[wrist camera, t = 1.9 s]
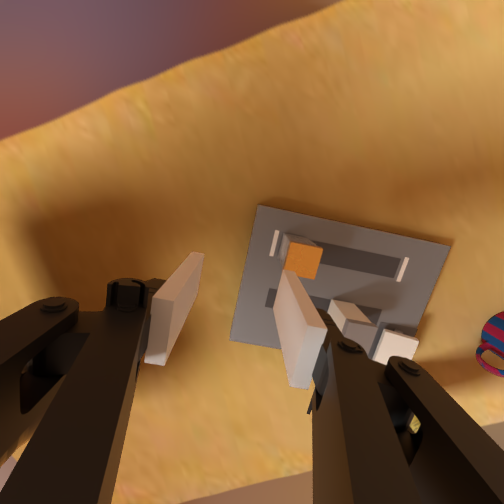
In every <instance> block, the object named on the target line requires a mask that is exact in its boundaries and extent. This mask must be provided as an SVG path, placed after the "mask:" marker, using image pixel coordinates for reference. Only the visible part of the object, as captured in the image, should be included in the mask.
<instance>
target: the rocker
mask: <svg viewBox="0 0 504 504" xmlns="http://www.w3.org/2000/svg"><path fill="white" fill-rule="evenodd" d="M418 344H419V340H418V339H417V338H414V337H411V336H408V335H404V334H403V332H402V331H400V330H398V329H395V330H394V331H391V330H387V329H384V330H383V332H382V335H381V337H380V340H379V343H378V345H377V348H376V351H375V353H374V356H373V358H372V360H374V361H377V362H379V363H382V364H385V365H387V362H388V360H389V357H391V356H400V357H405V358H408V359H409V360H412V358H413V355H414V353H415V351H416V348H417V346H418Z"/></svg>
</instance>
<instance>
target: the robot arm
mask: <svg viewBox="0 0 504 504" xmlns="http://www.w3.org/2000/svg"><path fill="white" fill-rule="evenodd" d="M203 259H204V253H198V252H193V251H192V252H191V253H190V254H189V255H188V256H187V258H186V259H185V260H184V261H183V262H182V263H181V265H180V266H179V267H178V268H177V269H176V270H175V272H174V273H173V274H172V275H171V276H170V277H169V278H168V280H161V279H156V278H154V279H151V280H148V281H146V282H145V281H142V280H139V279H133V278H122V279H116V280H113V281H111V282H109V283H108V285H107V298H106V307H105V308H104V310H103V311H98V312H79V303H78V302H77V301H76V300H74V299H70V298H63V297H50V298H47V299H42V300H39V301H36V302H34V303H32V304H30V305H28V306H26V307H24V308H23V309H21V310H19V311H17V312H15V313H13V314H12V315H10V316H8V317H6V318H4V319H2V320H1V321H0V467H1V466H2V465H3V464H4V463H5V462H6V461H7V459H8V458H9V457H10V456H11V455H12V454H13V453H14V452H15V451H16V449H17V448H19V447H20V446H21V445H23V444H24V443H26V442H27V441H28V440H30V441H29V442H28V444H27V446H26V448H25V450H24V451H23V453H22V455H21V457H20V458H19V460H18V462H17V464H16V466H15V467H14V469H13V471H12V472H11V474H10V476H9V478H8V480H7V481H6V483H5V485H4V487H3V488H2V490H1V492H0V504H111V501H112V496H113V491H114V487H115V482H116V477H117V473H118V468H119V463H120V458H121V454H122V449H123V444H124V440H125V435H126V430H127V425H128V421H129V416H130V411H131V407H132V402H133V397H134V392H135V388H136V383H137V378H138V374H139V369H140V360H141V358H142V356H143V354H144V353H145V360H144V363H150V364H156V365H162V366H165V363H166V361H167V359H168V357H169V355H170V353H171V351H172V348H173V346H174V344H175V342H176V340H177V338H178V335H179V333H180V331H181V329H182V327H183V325H184V322H185V320H186V318H187V316H188V314H189V312H190V309H191V307H192V305H193V303H194V301H195V299H196V297H197V294H198V288H199V283H200V277H201V271H202V265H203ZM273 311H274V316H275V321H276V325H277V330H278V335H279V339H280V344H281V348H282V353H283V358H284V362H285V367H286V372H287V376H288V381H289V386H290V387H295V388H301V389H307V390H308V389H309V386H310V383H311V380H312V377H313V380H314V383H315V389H314V392H313V395H312V398H311V402H310V405H309V408H308V411H307V414H310V412H311V410H312V445H313V504H504V451H503V450H502V449H501V448H500V447H499V446H498V445H497V444H496V443H495V441H494V440H493V439H492V438H491V437H490V436H489V435H488V434H487V433H486V432H485V431H484V430H483V429H482V428H481V427H480V426H479V425H478V424H477V423H476V422H475V421H474V420H473V419H472V418H471V417H470V416H469V415H468V414H467V413H466V412H465V410H464V409H463V408H462V407H461V406H460V405H459V404H458V403H457V402H456V401H455V400H454V399H453V398H452V397H451V396H450V395H449V394H448V393H447V392H446V391H445V390H444V389H443V388H442V387H441V386H440V385H439V384H438V383H437V382H436V381H435V380H434V378H433V377H432V376H431V375H430V374H429V373H428V372H427V371H426V370H424V369H423V368H422V367H421V366H420V365H418V364H416V363H415V362H414V361H412V360H409V359H408V358H405V357H400V356H391V357H389V360H388V362H387V365H385V364H382V363H379V362H377V361H374V360H371V359H369V358H368V356H367V353H366V351H365V350H364V348H363V347H362V346H361V345H359V344H358V343H356V342H355V341H353V340H351V339H348V338H346V337H344V336H343V334H342V333H341V331H340V330H339V328H338V327H337V325H336V323H335V322H334V320H333V319H332V317H331V316H330V315H329V314H328V313H327V312H326V311H324V310H323V309H319V308H315V306H314V304H313V303H312V301H311V299H310V297H309V296H308V294H307V292H306V290H305V289H304V287H303V285H302V283H301V282H300V280H299V278H298V276H297V275H296V273H295V272H294V271H289V270H284V269H283V271H282V275H281V279H280V283H279V287H278V291H277V295H276V299H275V302H274V306H273ZM145 351H146V352H145ZM414 415H415V416H416V417H417V419H418V420H419V422H420V427H419V429H418V431H417V432H416V433H415V432H414V431H413V430H412V428H411V427H410V424H411V422H412V419H413V417H414Z"/></svg>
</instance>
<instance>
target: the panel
mask: <svg viewBox="0 0 504 504" xmlns="http://www.w3.org/2000/svg"><path fill="white" fill-rule="evenodd" d="M283 233H287V234H291V235H296V236H301V237H306V238H309V239H310V240H311V241H312V242H313V243H315V244H316V245H317V246H319V247H322V248H323V252H322V255H321V259H320V262H319V266H318V269H317V273H316V276H315V280H313V279H308V278H303V277H298V278H299V280H300V282H301V283H302V285H303V287H304V289H305V290H306V292H307V294H308V296H309V297H310V299H311V301H312V303H313V304H314V306H315V308H319V309H323V310H324V311H326V312H328V309H329V306H330V302H331V299H333V300H338V301H343V302H349V303H354V304H355V305H356V306H357V307H358V308H359V309H360V311H361V312H362V313H363V314H364V315H365V316H366V317H367V318H368V319H369V320H370V321H371V322H372V323H374V324H375V325H376V326H377V327H378V329H377V332H376V335H375V337H374V340H373V343H372V345H371V348H370V351H369V353H368V354H367V356H368V358H369V359H371V360H372V358H373V356H374V353H375V351H376V348H377V345H378V343H379V340H380V337H381V335H382V332H383V330H384V329H387V330H391V331H394V330H395V329H398V330H400V331H402V332H403V334H404V335H408V336H411V337H415V334H416V332H417V327H418V324H419V322H420V319H421V317H422V315H423V312H424V310H425V307H426V305H427V303H428V300H429V298H430V295H431V293H432V291H433V288H434V286H435V283H436V281H437V279H438V276H439V274H440V271H441V269H442V267H443V264H444V262H445V259H446V257H447V255H448V252H449V250H450V247H451V246H447V245H444V244H440V243H436V242H431V241H427V240H422V239H417V238H413V237H408V236H404V235H399V234H394V233H390V232H385V231H380V230H376V229H371V228H366V227H362V226H357V225H353V224H348V223H343V222H339V221H334V220H329V219H325V218H320V217H315V216H311V215H306V214H301V213H297V212H292V211H288V210H283V209H278V208H274V207H269V206H264V205H260V204H258V206H257V211H256V215H255V220H254V225H253V229H252V234H251V238H250V243H249V248H248V252H247V257H246V262H245V266H244V271H243V276H242V280H241V285H240V290H239V294H238V299H237V304H236V308H235V313H234V317H233V322H232V327H231V331H230V341H236V342H242V343H248V344H253V345H259V346H265V347H270V348H276V349H282V348H281V344H280V339H279V335H278V330H277V325H276V321H275V316H274V311H273V306H274V302H275V299H276V295H277V291H278V287H279V283H280V279H281V275H282V266H281V264H280V262H279V260H278V257H277V256H278V252H279V248H280V244H281V240H282V236H283Z"/></svg>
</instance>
